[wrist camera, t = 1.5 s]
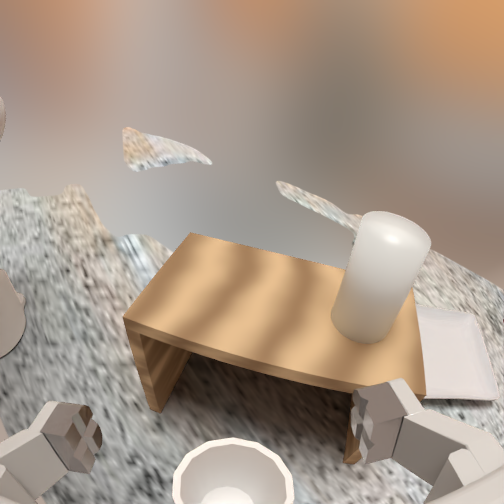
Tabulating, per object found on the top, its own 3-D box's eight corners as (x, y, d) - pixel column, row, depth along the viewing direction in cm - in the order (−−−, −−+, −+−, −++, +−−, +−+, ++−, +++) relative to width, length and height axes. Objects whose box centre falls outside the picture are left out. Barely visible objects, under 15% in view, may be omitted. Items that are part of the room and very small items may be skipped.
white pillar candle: (327, 335, 27) (362, 240, 22) (333, 292, 32) (360, 204, 26) (390, 349, 26) (438, 260, 21) (387, 305, 31) (423, 222, 25)
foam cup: (271, 544, 24) (298, 539, 16) (185, 543, 23) (170, 538, 15) (266, 474, 31) (288, 436, 24) (187, 472, 30) (176, 434, 23)
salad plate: (388, 406, 40) (398, 395, 38) (379, 309, 57) (385, 296, 55) (491, 409, 38) (502, 398, 36) (466, 324, 55) (474, 312, 53)
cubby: (150, 409, 37) (122, 316, 26) (192, 331, 49) (190, 232, 39) (353, 464, 32) (426, 395, 22) (362, 374, 44) (412, 285, 34)
